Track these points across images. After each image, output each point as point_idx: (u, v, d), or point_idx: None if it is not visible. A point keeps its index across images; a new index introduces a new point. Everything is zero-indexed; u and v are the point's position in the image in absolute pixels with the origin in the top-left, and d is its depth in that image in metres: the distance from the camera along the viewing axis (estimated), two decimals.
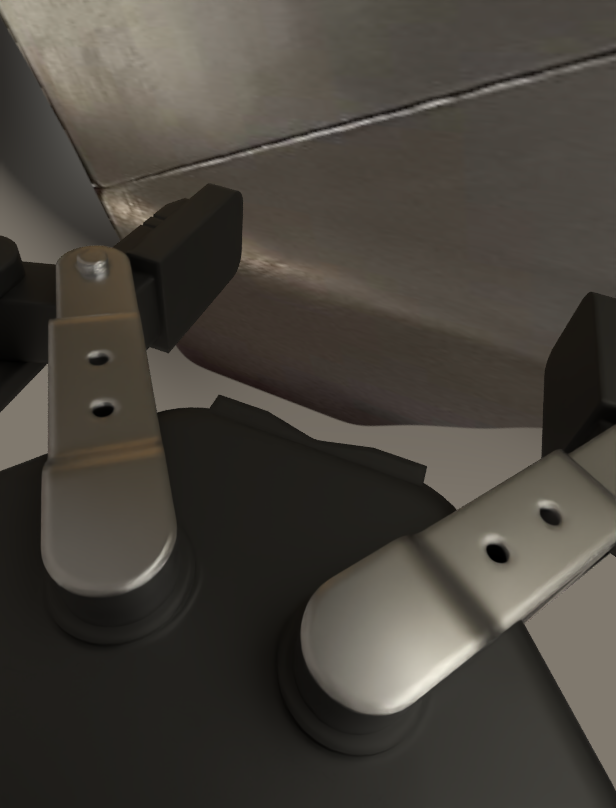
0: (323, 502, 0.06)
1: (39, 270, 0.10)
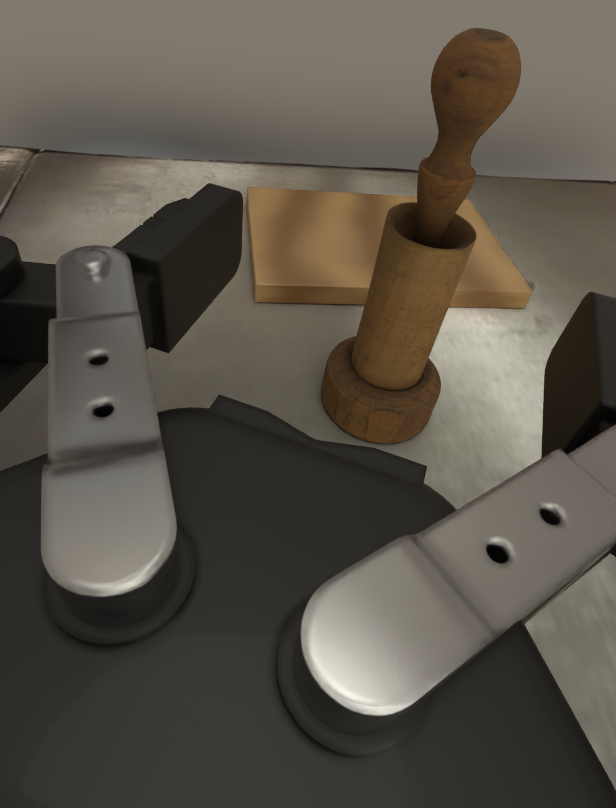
0: (323, 502, 0.06)
1: (38, 270, 0.10)
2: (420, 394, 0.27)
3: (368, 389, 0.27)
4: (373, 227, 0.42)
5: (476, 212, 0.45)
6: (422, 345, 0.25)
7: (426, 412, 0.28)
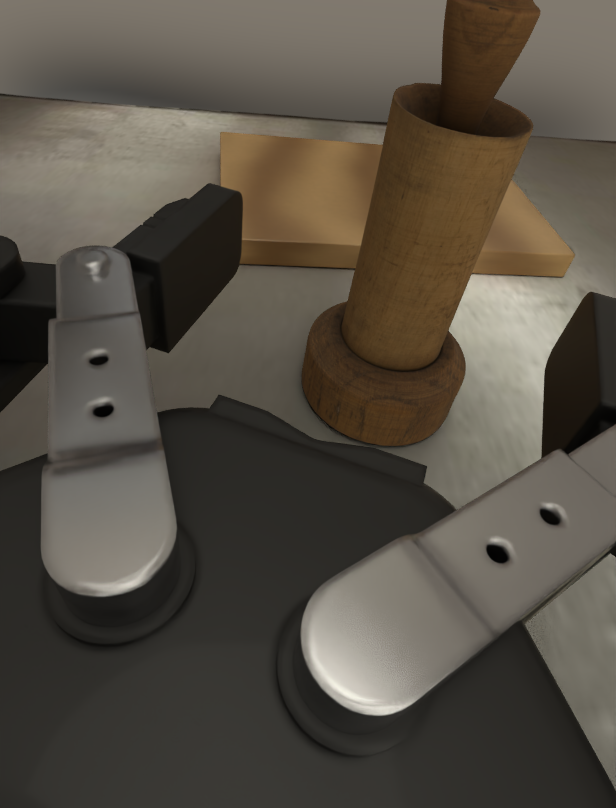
0: (323, 502, 0.06)
1: (39, 269, 0.10)
2: (438, 377, 0.19)
3: (365, 368, 0.19)
4: (374, 178, 0.34)
5: None
6: (444, 302, 0.17)
7: (446, 402, 0.20)
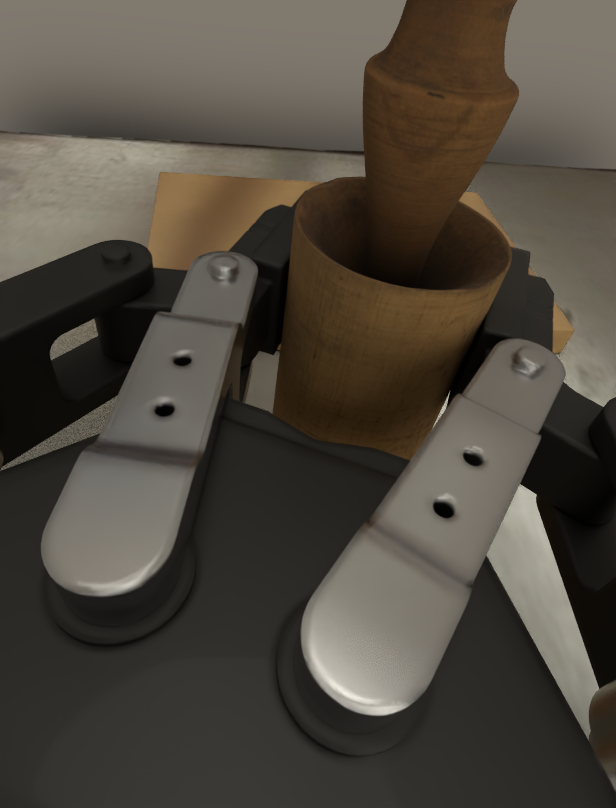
0: (323, 502, 0.06)
1: (164, 274, 0.10)
2: None
3: None
4: None
5: (486, 209, 0.32)
6: None
7: None
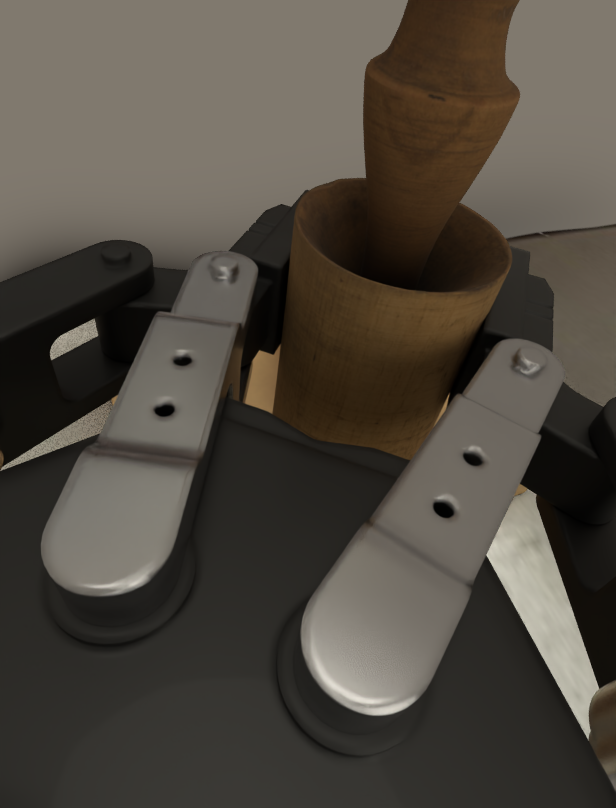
0: (323, 502, 0.06)
1: (164, 274, 0.10)
2: None
3: None
4: None
5: None
6: None
7: None
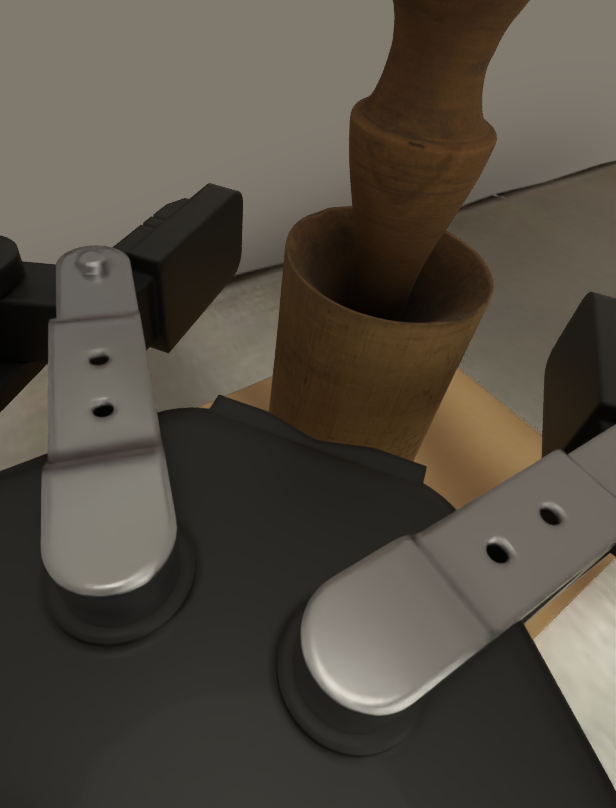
0: (323, 502, 0.06)
1: (39, 270, 0.10)
2: None
3: None
4: None
5: None
6: None
7: None
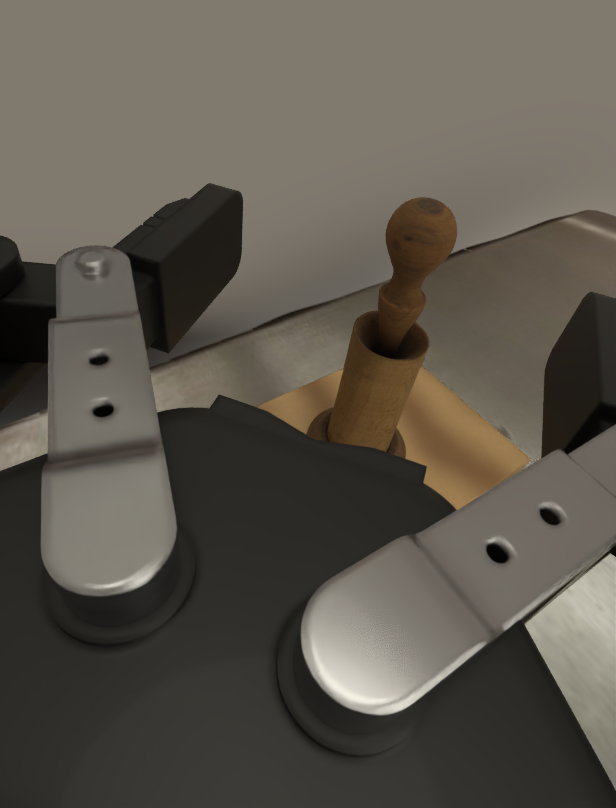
0: (323, 502, 0.06)
1: (39, 269, 0.10)
2: None
3: None
4: None
5: None
6: (386, 427, 0.29)
7: None
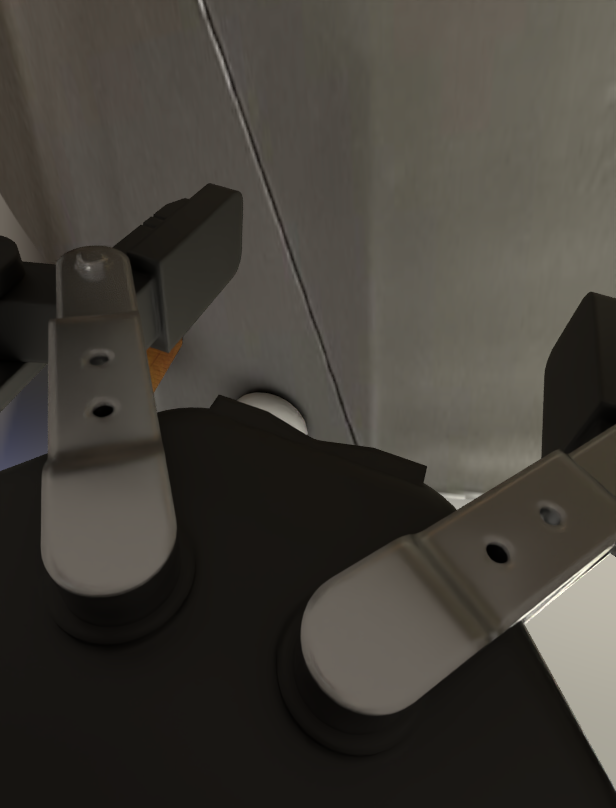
0: (323, 502, 0.06)
1: (39, 269, 0.10)
2: None
3: None
4: None
5: None
6: None
7: None
